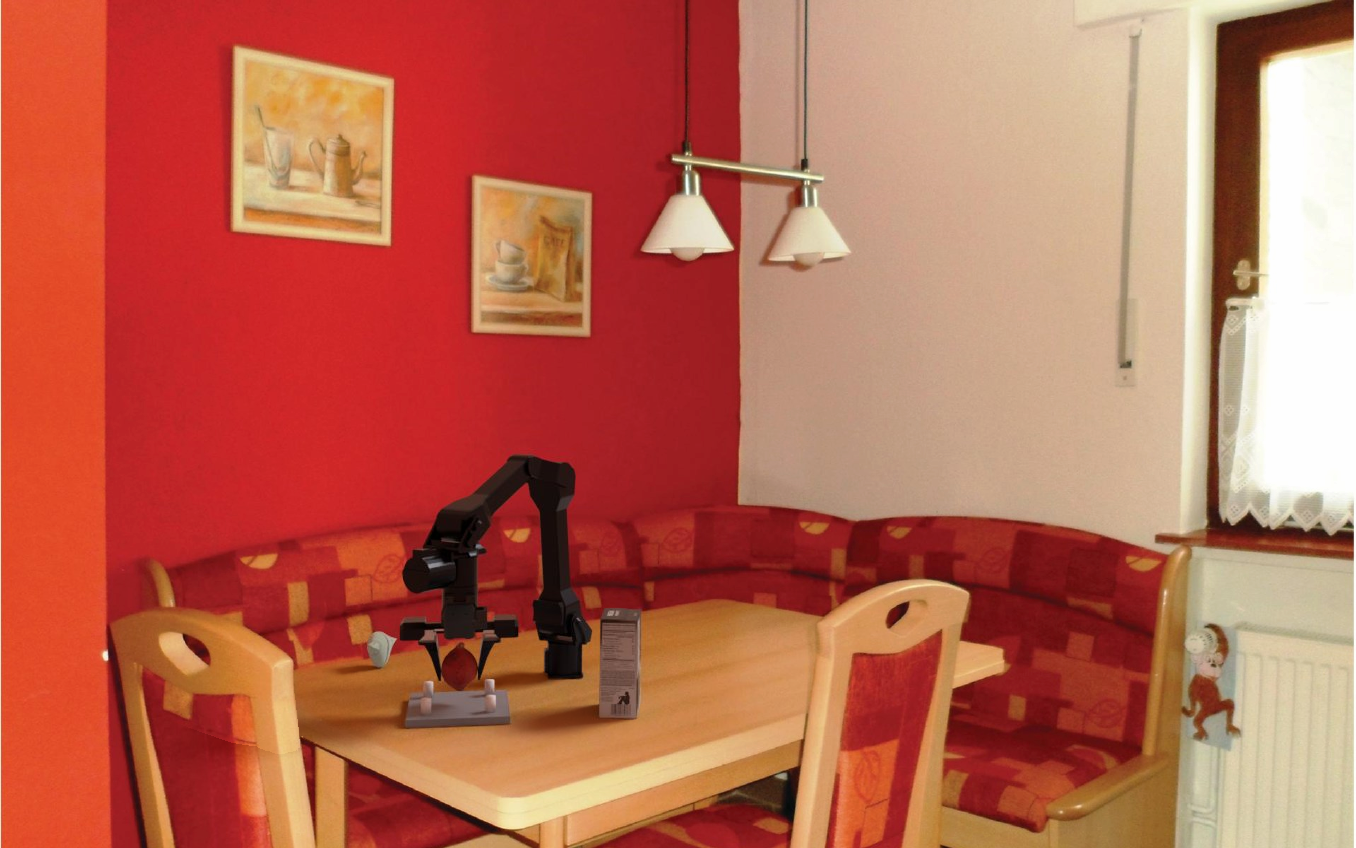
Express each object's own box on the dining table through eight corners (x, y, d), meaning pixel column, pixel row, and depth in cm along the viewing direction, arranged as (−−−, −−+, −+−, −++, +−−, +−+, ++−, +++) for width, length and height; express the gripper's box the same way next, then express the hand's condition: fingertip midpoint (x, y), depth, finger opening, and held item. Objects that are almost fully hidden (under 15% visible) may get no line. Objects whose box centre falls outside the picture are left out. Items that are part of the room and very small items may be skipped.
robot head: (376, 673, 207) (376, 636, 206) (357, 671, 208) (357, 635, 208) (399, 663, 214) (399, 628, 214) (380, 662, 215) (381, 626, 215)
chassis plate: (506, 696, 192) (507, 675, 192) (510, 724, 176) (510, 700, 176) (410, 700, 189) (410, 678, 189) (405, 728, 173) (405, 704, 173)
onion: (460, 698, 178) (460, 648, 178) (433, 692, 181) (433, 643, 181) (484, 690, 183) (485, 641, 183) (458, 684, 186) (458, 637, 186)
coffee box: (603, 703, 189) (604, 607, 188) (641, 703, 189) (642, 608, 188) (597, 718, 180) (598, 618, 179) (637, 719, 179) (638, 618, 179)
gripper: (397, 594, 172) (397, 695, 173) (520, 592, 176) (519, 691, 176) (401, 582, 183) (401, 677, 184) (517, 580, 187) (516, 673, 187)
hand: (459, 680), depth 182 cm, fingers closed on onion, 6 cm apart
